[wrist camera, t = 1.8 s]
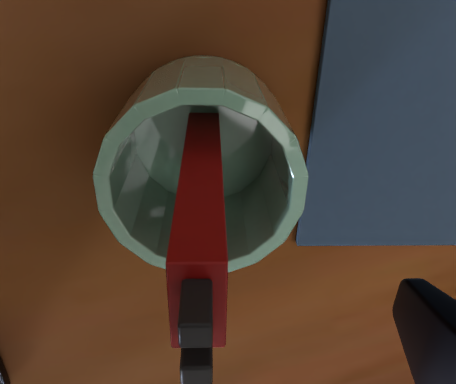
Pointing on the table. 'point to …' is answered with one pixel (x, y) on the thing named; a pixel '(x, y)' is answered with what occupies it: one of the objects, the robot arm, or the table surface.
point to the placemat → (383, 126)
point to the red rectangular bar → (198, 252)
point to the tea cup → (173, 150)
